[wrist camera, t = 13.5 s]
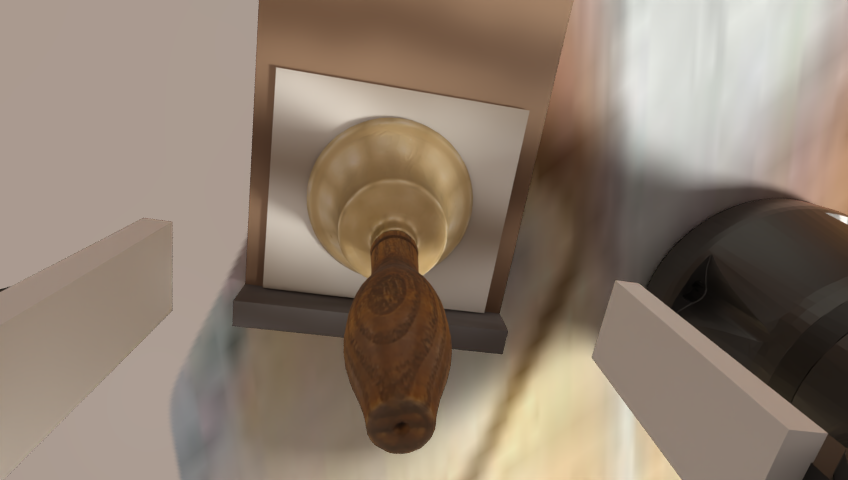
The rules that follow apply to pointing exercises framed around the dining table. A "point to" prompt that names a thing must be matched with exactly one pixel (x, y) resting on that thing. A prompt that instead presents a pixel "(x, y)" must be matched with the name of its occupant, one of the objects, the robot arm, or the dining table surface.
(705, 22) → the dining table surface
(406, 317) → the hand bell
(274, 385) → the dining table surface
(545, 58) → the brown wooden display stand
